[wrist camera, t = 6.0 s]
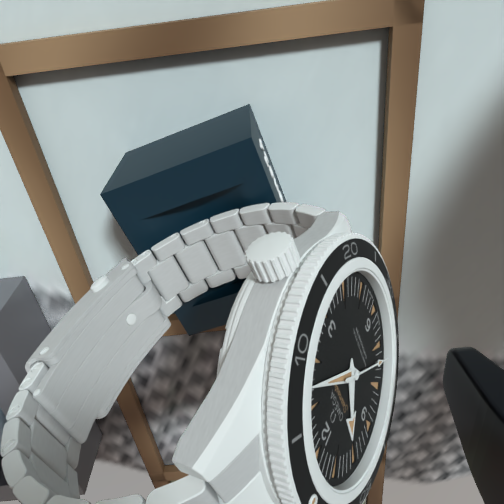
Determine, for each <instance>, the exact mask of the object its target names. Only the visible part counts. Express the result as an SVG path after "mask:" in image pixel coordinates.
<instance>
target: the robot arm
mask: <svg viewBox="0 0 504 504" xmlns="http://www.w3.org/2000/svg"><path fill="white" fill-rule="evenodd" d="M443 386H444V391H445V394H446V397H447V400H448V403H449V406H450V410H451V413H452V416H453V419H454V422H455V425H456V428H457V431H458V434H459V438H460V441H461V444H462V447H463V450H464V453H465V456H466V459H467V462H468V465H469V468H470V471H471V473H472V475H473V478H474V480H475V483H476V485H477V487H478V489H479V492H480V494H481V496H482V498H483V501H484V503H485V504H504V370H503V369H502V368H500V367H499V366H498V365H496V364H495V363H494V362H492V361H491V360H490V359H488V358H487V357H486V356H484V355H483V354H482V353H480V352H479V351H477V350H476V349H474V348H472V347H464V348H453V349H450V350H449V352H448V354H447V358H446V364H445V370H444V375H443Z"/></svg>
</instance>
